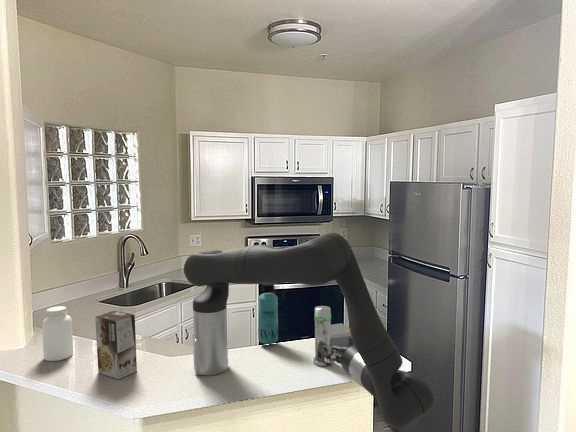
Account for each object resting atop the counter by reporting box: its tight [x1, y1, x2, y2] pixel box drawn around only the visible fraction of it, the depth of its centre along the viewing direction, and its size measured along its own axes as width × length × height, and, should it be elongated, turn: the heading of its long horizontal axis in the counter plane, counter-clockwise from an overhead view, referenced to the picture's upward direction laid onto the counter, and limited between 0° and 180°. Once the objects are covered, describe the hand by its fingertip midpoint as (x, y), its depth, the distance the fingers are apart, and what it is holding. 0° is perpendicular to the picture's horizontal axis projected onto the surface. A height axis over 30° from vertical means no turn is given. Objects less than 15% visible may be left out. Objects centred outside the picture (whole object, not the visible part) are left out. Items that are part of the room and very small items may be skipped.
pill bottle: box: [41, 305, 74, 362], centre depth 127 cm, size 8×8×15 cm
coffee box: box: [94, 310, 138, 380], centre depth 115 cm, size 9×6×16 cm
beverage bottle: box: [257, 283, 279, 345], centre depth 134 cm, size 6×7×20 cm
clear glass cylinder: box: [312, 305, 334, 368], centre depth 119 cm, size 6×6×16 cm
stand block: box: [331, 323, 351, 355], centre depth 131 cm, size 9×9×6 cm
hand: (335, 342), depth 111 cm, fingers open, 8 cm apart
